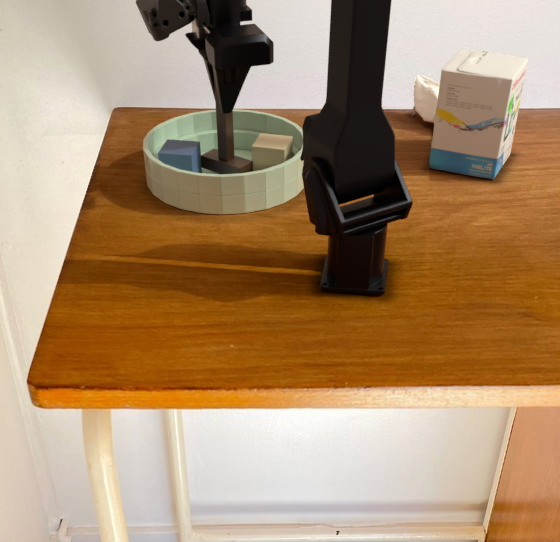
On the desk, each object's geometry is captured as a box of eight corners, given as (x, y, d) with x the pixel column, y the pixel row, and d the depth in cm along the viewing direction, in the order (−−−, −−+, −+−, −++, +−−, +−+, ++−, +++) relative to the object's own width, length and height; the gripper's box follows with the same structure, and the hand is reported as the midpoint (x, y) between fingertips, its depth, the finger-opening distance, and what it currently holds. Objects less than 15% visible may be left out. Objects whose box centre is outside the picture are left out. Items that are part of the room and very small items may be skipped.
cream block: (284, 183, 101) (284, 149, 98) (252, 179, 101) (251, 146, 99) (292, 169, 103) (292, 136, 101) (260, 165, 104) (260, 132, 101)
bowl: (296, 224, 95) (296, 181, 91) (129, 213, 97) (123, 170, 93) (315, 153, 108) (317, 113, 105) (169, 145, 110) (165, 105, 107)
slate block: (194, 189, 100) (191, 155, 97) (161, 186, 100) (157, 152, 97) (202, 174, 102) (200, 141, 100) (170, 172, 103) (167, 139, 100)
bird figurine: (397, 129, 117) (445, 135, 109) (403, 73, 114) (452, 76, 106) (425, 129, 119) (474, 135, 112) (431, 75, 116) (481, 77, 108)
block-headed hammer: (253, 173, 101) (250, 65, 92) (240, 180, 99) (236, 71, 91) (214, 160, 103) (208, 54, 95) (201, 167, 102) (193, 60, 93)
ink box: (494, 181, 102) (513, 79, 94) (426, 168, 105) (439, 68, 97) (511, 154, 108) (530, 55, 100) (447, 143, 110) (460, 46, 102)
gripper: (119, -65, 90) (137, 89, 101) (158, -20, 77) (174, 151, 88) (220, -73, 92) (227, 78, 103) (274, -31, 80) (275, 137, 91)
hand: (224, 109), depth 96 cm, fingers closed on block-headed hammer, 2 cm apart
